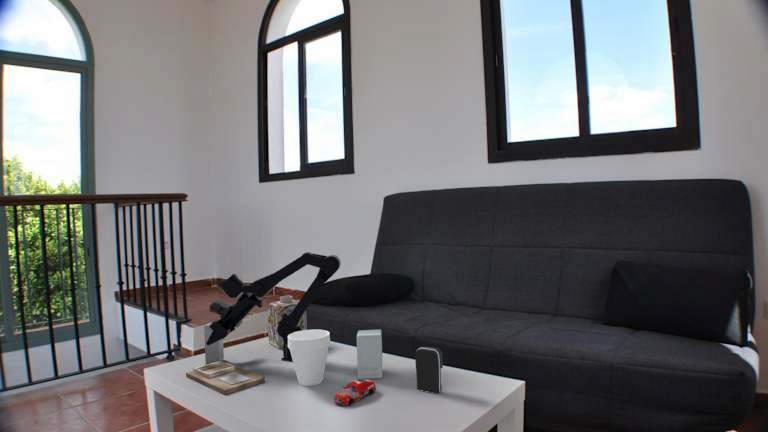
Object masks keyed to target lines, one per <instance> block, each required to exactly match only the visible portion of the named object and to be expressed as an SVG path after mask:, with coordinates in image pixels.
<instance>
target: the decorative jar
mask: <svg viewBox="0 0 768 432" xmlns="http://www.w3.org/2000/svg"><path fill="white" fill-rule="evenodd" d="M300 300H301V299H293V296H292V295H283V296H280V297H279V300H276V301H273V302H271V303H269V305H268V307H267V335H268V343H269V344H270V345H272V346H273V347H275V348H276V349H278V350H283V344H284V341H283V338H282V337H281V336H280V335H279V334H278V331H277V327H278V325H279V324H278V322H279V321H280V320H281V319H282V317H283V315H284V313H285V312H286V311H287V310H289V311H290V312H292V311H293V310H294V308H295V307H296V305H297V304H298V303H299V301H300ZM298 326H299V327H300V328H301V329H302V330H308V324H307V310H306V311H305V312H304V314H303V316H302V318H301V320H300V323H299V325H298Z"/></svg>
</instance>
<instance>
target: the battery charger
mask: <svg viewBox="0 0 768 432" xmlns="http://www.w3.org/2000/svg"><path fill="white" fill-rule="evenodd" d="M443 362H444V361H443V353H442V351H441V349H439V348H437V347H433V346H431V347H430V346H421V347H419V348H417V349H416V351H415V371H416V372H415V373H416V375H415V376H416V389H417V391H421V390H423V391H422V392H426V391H428V392H427V393H431V392H433V394H440V393H441V392H442V390H443V388H442V383H441V382H442V381H441V377H442V369H443V367H444V366H443V365H444V363H443Z"/></svg>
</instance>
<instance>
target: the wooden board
mask: <svg viewBox="0 0 768 432" xmlns="http://www.w3.org/2000/svg"><path fill="white" fill-rule="evenodd" d="M192 369H193V370H192V371H186V372H185V377H186V378H188V379H190V380H193V381H195V382H197V383H199V384H200V385H203V386H205V387H206V388H207V387H208V388H210V389H212V390H214V391H216V392H218V393H220V394H223V395H228V394H231V393H235V392H237V391H241V390H244V389H246V388H251V387H253V386H256V385H259V384H261V383H265V381H266V378H265V377H264V376H262V375H259V374H256V373H254V372H251V371H249V370H245V369H243V368H240V367H237V366H236V365H233V364H231V363H228V362H226V361H224V360H223V361H218V362H215V363H211V364H207V365H206V364H204V365H201V366H200V365H199V366H197V367H193V368H192Z"/></svg>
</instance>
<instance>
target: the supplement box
mask: <svg viewBox="0 0 768 432" xmlns="http://www.w3.org/2000/svg"><path fill="white" fill-rule="evenodd" d="M382 335H383V334H382V329H362V330H361V329H359V330H358V331H357V333H356V356H357V357H356V359H357V360H356V361H357V380H359V379H360V380H367V379H383V370H384V369H383V342H382V339H383V337H382Z"/></svg>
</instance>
